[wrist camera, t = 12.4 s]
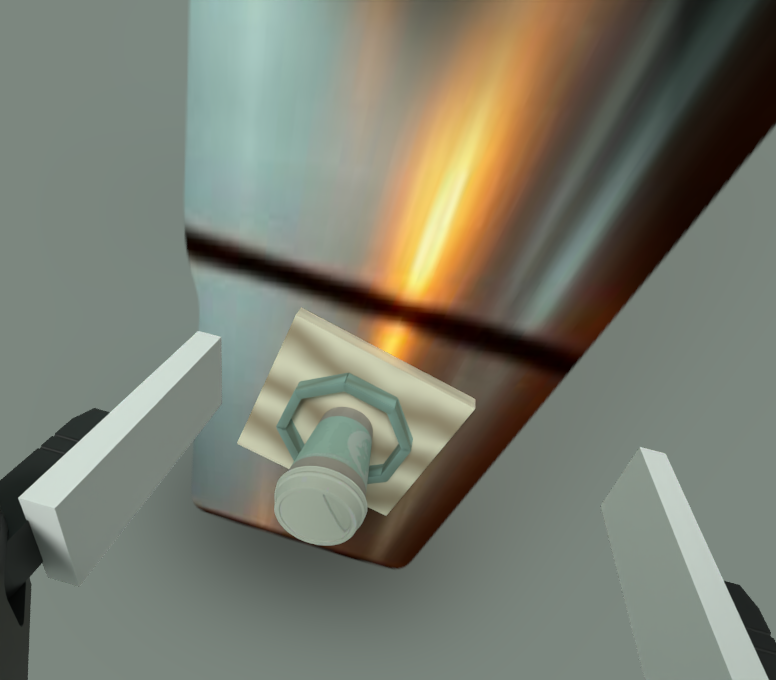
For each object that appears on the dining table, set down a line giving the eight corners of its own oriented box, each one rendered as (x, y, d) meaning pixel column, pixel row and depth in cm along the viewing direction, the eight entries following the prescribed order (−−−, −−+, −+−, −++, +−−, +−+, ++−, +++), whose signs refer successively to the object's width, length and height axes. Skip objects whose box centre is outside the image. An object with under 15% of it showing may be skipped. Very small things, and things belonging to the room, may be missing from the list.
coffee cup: (376, 465, 53) (352, 560, 43) (304, 444, 53) (263, 533, 43) (393, 409, 48) (372, 500, 38) (315, 386, 49) (273, 471, 38)
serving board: (301, 307, 46) (289, 323, 43) (475, 399, 48) (475, 420, 45) (242, 434, 56) (230, 454, 53) (388, 505, 58) (383, 528, 55)
